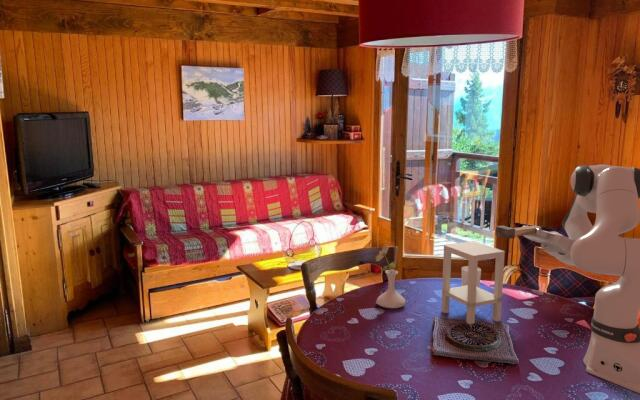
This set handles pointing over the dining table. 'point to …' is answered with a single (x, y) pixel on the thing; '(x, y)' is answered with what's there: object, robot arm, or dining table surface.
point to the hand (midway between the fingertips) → (532, 228)
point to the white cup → (465, 276)
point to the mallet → (515, 231)
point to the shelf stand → (473, 279)
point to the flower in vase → (390, 296)
